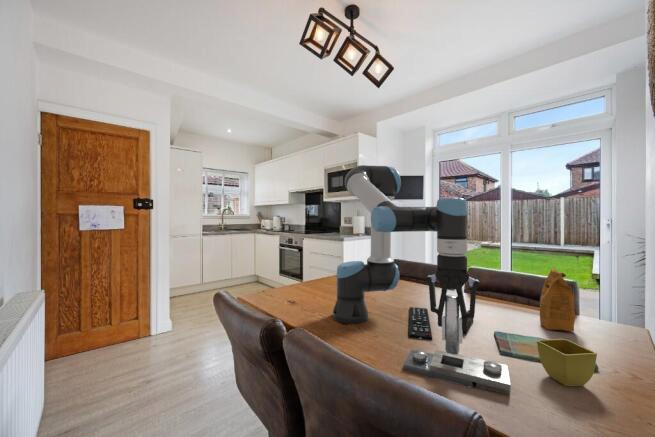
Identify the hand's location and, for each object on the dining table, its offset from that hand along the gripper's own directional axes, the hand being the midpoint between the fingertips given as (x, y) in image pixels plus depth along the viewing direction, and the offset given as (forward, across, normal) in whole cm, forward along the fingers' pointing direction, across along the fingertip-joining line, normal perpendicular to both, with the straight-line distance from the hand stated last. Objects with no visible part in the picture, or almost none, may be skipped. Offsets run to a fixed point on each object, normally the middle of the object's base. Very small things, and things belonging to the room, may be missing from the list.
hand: (452, 339), depth 76 cm
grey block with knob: (+9, +4, 0) cm, 10 cm away
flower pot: (+9, +26, +10) cm, 29 cm away
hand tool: (+9, +1, +38) cm, 39 cm away
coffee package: (+9, +32, +54) cm, 63 cm away
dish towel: (+10, +23, +27) cm, 37 cm away
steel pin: (+3, 0, 0) cm, 3 cm away
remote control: (+10, -15, +33) cm, 38 cm away
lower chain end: (+9, -4, 0) cm, 10 cm away
